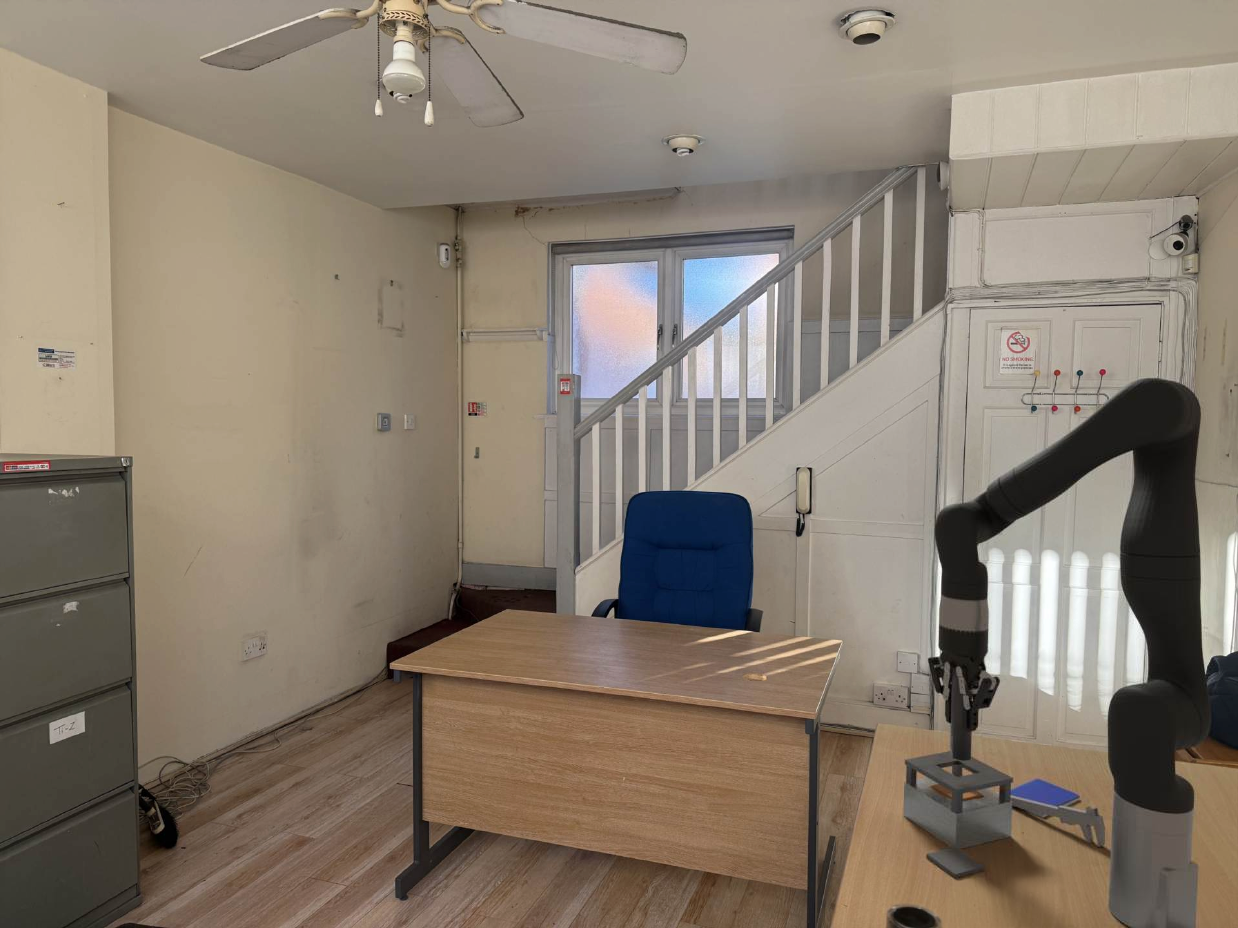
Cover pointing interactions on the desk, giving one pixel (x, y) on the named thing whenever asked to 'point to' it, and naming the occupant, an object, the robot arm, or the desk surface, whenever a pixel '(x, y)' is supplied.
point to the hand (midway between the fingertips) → (960, 725)
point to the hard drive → (1044, 794)
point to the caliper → (1069, 817)
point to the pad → (955, 862)
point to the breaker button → (948, 793)
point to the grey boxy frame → (958, 800)
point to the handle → (958, 723)
